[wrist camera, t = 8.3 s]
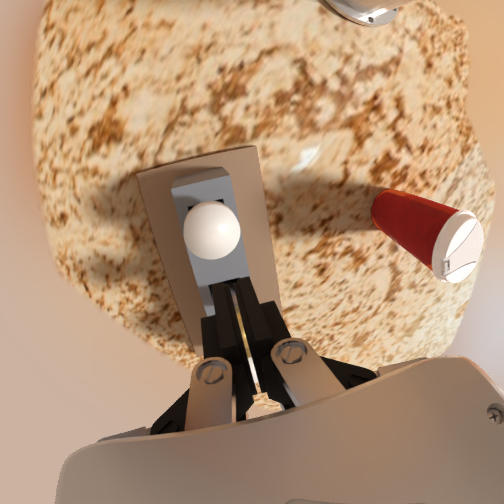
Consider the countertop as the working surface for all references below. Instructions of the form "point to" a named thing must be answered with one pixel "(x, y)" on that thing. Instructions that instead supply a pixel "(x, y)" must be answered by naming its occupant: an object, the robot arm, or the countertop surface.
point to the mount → (172, 228)
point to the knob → (211, 230)
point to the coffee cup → (431, 232)
